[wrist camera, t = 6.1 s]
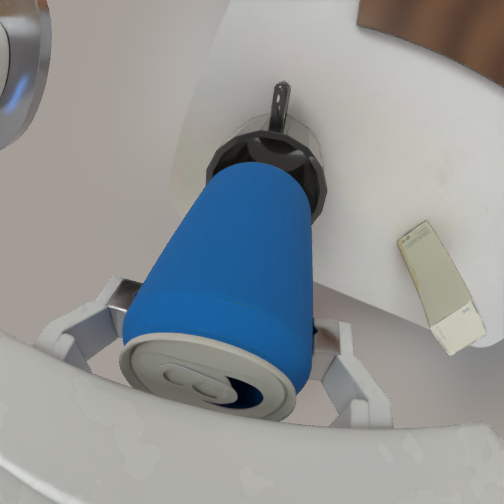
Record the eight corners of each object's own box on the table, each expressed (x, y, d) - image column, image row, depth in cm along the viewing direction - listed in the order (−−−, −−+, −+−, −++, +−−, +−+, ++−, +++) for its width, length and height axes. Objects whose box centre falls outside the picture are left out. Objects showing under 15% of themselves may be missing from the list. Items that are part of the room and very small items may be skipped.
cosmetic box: (395, 240, 30) (425, 326, 20) (427, 217, 28) (472, 297, 18) (420, 275, 32) (448, 358, 22) (450, 255, 30) (488, 335, 20)
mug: (310, 207, 30) (311, 251, 23) (225, 191, 30) (203, 230, 24) (336, 88, 22) (349, 97, 16) (237, 72, 23) (213, 76, 17)
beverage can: (277, 268, 21) (251, 443, 11) (189, 225, 20) (102, 386, 10) (331, 192, 17) (358, 385, 7) (229, 138, 16) (117, 285, 6)
